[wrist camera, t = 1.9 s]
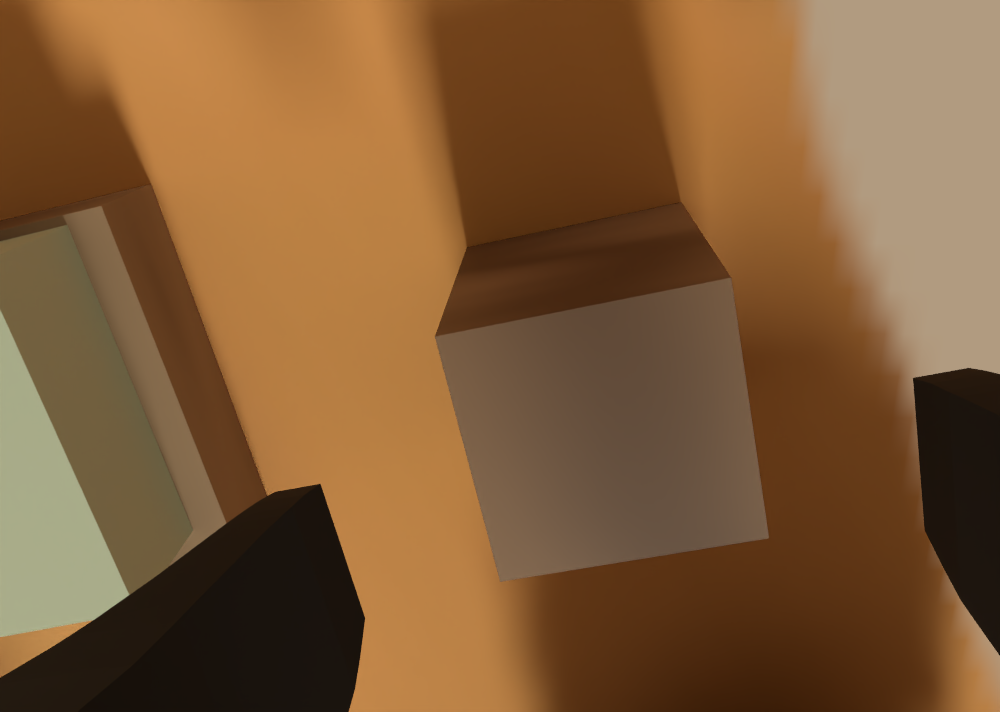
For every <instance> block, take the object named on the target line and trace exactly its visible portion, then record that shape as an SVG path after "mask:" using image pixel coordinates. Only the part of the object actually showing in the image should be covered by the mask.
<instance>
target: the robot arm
mask: <svg viewBox="0 0 1000 712" xmlns="http://www.w3.org/2000/svg"><path fill="white" fill-rule="evenodd" d="M913 383H914V396H915V409H916V422H917V435H918V448H919V461H920V474H921V488H922V501H923V514H924V527H925V532H926V534H927V536H928V538H929V540H930V542H931V544H932V546H933V548H934V550H935V552H936V554H937V556H938V558H939V560H940V562H941V564H942V566H943V568H944V570H945V571H946V573H947V575H948V577H949V579H950V581H951V583H952V585H953V586H954V588H955V590H956V592H957V594H958V596H959V598H960V599H961V601H962V602H963V604H964V605H965V607H966V608H967V610H968V611H969V613H970V614H971V615H972V617H973V618H974V620H975V621H976V623H977V624H978V625H979V627H980V628H981V630H982V631H983V633H984V634H985V635H986V637H987V638H988V640H989V641H990V642H991V644H992V645H993V647H994V648H995V649H996V651H997V652H998V654H999V655H1000V374H996V373H992V372H988V371H983V370H978V369H971V368H967V369H961V370H955V371H950V372H944V373H938V374H933V375H927V376H922V377H916V378H913ZM364 622H365V617H364V614H363V611H362V608H361V605H360V602H359V599H358V596H357V593H356V590H355V587H354V584H353V581H352V578H351V575H350V572H349V569H348V566H347V563H346V559H345V556H344V553H343V550H342V547H341V544H340V541H339V538H338V535H337V532H336V529H335V526H334V523H333V520H332V517H331V514H330V511H329V508H328V505H327V502H326V499H325V496H324V493H323V490H322V487H321V484H317V485H312V486H306V487H301V488H295V489H289V490H284V491H278V492H274V493H272V494H270V495H269V496H267V497H265V498H263V499H261V500H260V501H258V502H256V503H255V504H253V505H252V506H250V507H249V508H247V509H246V510H244V511H243V512H242V513H240V514H239V515H237V516H236V517H235V518H233V519H232V520H230V521H229V522H228V523H226V524H225V525H224V526H222V527H221V528H220V529H218V530H217V531H216V532H214V533H213V534H212V535H210V536H209V537H208V538H206V539H205V540H204V541H202V542H201V543H200V544H198V545H197V546H196V547H194V548H193V549H192V550H190V551H189V552H188V553H186V554H185V555H184V556H182V557H181V558H180V559H178V560H177V561H176V562H174V563H173V564H172V565H170V566H169V567H168V568H166V569H165V570H164V571H162V572H161V573H160V574H158V575H157V576H156V577H154V578H153V579H151V580H150V581H148V582H147V583H146V584H144V585H143V586H141V587H140V588H138V589H137V590H136V591H134V592H133V593H131V594H130V595H129V596H127V597H126V598H124V599H123V600H121V601H120V602H119V603H117V604H116V605H114V606H113V607H111V608H110V609H109V610H107V611H106V612H104V613H103V614H102V615H100V616H99V617H97V618H96V619H94V620H93V621H92V622H90V623H89V624H87V625H86V626H84V627H83V628H81V629H80V630H78V631H76V632H75V633H73V634H72V635H70V636H69V637H67V638H66V639H64V640H62V641H61V642H59V643H58V644H56V645H55V646H53V647H51V648H50V649H48V650H47V651H45V652H43V653H41V654H40V655H38V656H36V657H35V658H33V659H31V660H30V661H28V662H26V663H25V664H23V665H21V666H19V667H18V668H16V669H14V670H13V671H11V672H9V673H8V674H6V675H4V676H3V677H1V678H0V712H349V708H350V705H351V701H352V697H353V694H354V690H355V685H356V679H357V673H358V666H359V660H360V653H361V645H362V638H363V630H364Z"/></svg>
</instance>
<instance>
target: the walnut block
mask: <svg viewBox="0 0 1000 712" xmlns="http://www.w3.org/2000/svg"><path fill="white" fill-rule="evenodd" d="M435 339H436V342H437V346H438V350H439V354H440V357H441V361H442V365H443V369H444V372H445V376H446V380H447V384H448V387H449V391H450V395H451V399H452V402H453V406H454V410H455V414H456V417H457V421H458V425H459V429H460V432H461V436H462V440H463V444H464V447H465V451H466V455H467V459H468V462H469V466H470V470H471V474H472V477H473V481H474V485H475V489H476V492H477V496H478V500H479V504H480V507H481V511H482V515H483V519H484V522H485V526H486V530H487V534H488V537H489V541H490V545H491V549H492V552H493V556H494V560H495V564H496V567H497V571H498V575H499V579H500V582H502V581H508V580H514V579H521V578H527V577H533V576H539V575H545V574H551V573H558V572H564V571H570V570H576V569H582V568H589V567H595V566H601V565H607V564H613V563H619V562H626V561H632V560H638V559H644V558H650V557H657V556H663V555H669V554H675V553H681V552H687V551H694V550H700V549H706V548H712V547H718V546H725V545H731V544H737V543H743V542H749V541H755V540H762V539H768V538H769V534H768V527H767V521H766V514H765V507H764V500H763V493H762V486H761V479H760V472H759V466H758V459H757V452H756V445H755V438H754V431H753V424H752V417H751V410H750V404H749V397H748V390H747V383H746V376H745V369H744V362H743V355H742V349H741V342H740V335H739V328H738V321H737V314H736V307H735V300H734V293H733V287H732V280H731V277H730V275H729V274H728V272H727V271H726V269H725V268H724V266H723V265H722V263H721V262H720V260H719V259H718V257H717V256H716V254H715V252H714V251H713V249H712V248H711V246H710V245H709V243H708V242H707V240H706V239H705V237H704V236H703V234H702V233H701V231H700V230H699V228H698V227H697V225H696V224H695V222H694V221H693V219H692V218H691V216H690V215H689V213H688V212H687V210H686V209H685V207H684V206H683V204H682V203H681V202H680V203H675V204H671V205H666V206H661V207H656V208H652V209H647V210H642V211H638V212H633V213H628V214H623V215H619V216H614V217H609V218H604V219H600V220H595V221H590V222H585V223H581V224H576V225H571V226H566V227H562V228H557V229H552V230H547V231H543V232H538V233H533V234H529V235H524V236H519V237H514V238H510V239H505V240H500V241H495V242H491V243H486V244H481V245H476V246H472V247H467V249H466V252H465V254H464V257H463V260H462V263H461V266H460V268H459V271H458V274H457V277H456V279H455V282H454V285H453V288H452V291H451V293H450V296H449V299H448V302H447V305H446V307H445V310H444V313H443V316H442V318H441V321H440V324H439V327H438V330H437V332H436V335H435Z"/></svg>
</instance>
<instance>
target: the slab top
mask: <svg viewBox="0 0 1000 712" xmlns="http://www.w3.org/2000/svg"><path fill="white" fill-rule="evenodd" d="M192 531H193V529H192V527H191V524H190V522H189V519H188V517H187V514H186V512H185V510H184V507H183V505H182V502H181V500H180V497H179V495H178V493H177V490H176V488H175V485H174V483H173V480H172V478H171V476H170V473H169V471H168V468H167V466H166V463H165V461H164V459H163V456H162V454H161V451H160V449H159V446H158V444H157V442H156V439H155V437H154V434H153V432H152V429H151V427H150V425H149V422H148V420H147V417H146V415H145V412H144V410H143V408H142V405H141V403H140V400H139V398H138V395H137V393H136V391H135V388H134V386H133V383H132V381H131V378H130V376H129V374H128V371H127V369H126V366H125V364H124V361H123V359H122V357H121V354H120V352H119V349H118V347H117V344H116V342H115V340H114V337H113V335H112V332H111V330H110V327H109V325H108V323H107V320H106V318H105V315H104V313H103V310H102V308H101V306H100V303H99V301H98V298H97V296H96V293H95V291H94V289H93V286H92V284H91V281H90V279H89V276H88V274H87V272H86V269H85V267H84V264H83V262H82V260H81V257H80V255H79V252H78V250H77V247H76V245H75V243H74V240H73V238H72V235H71V233H70V231H69V228H68V226H67V225H64V226H60V227H56V228H52V229H48V230H44V231H40V232H36V233H32V234H28V235H24V236H20V237H16V238H12V239H8V240H3V241H0V637H4V636H9V635H14V634H20V633H25V632H31V631H36V630H42V629H47V628H53V627H58V626H64V625H69V624H75V623H80V622H86V621H91V620H94V619H96V618H97V617H99V616H100V615H102V614H103V613H104V612H106V611H107V610H109V609H110V608H111V607H113V606H114V605H116V604H117V603H119V602H120V601H121V600H123V599H124V598H126V597H127V596H129V595H130V594H131V593H133V592H134V591H136V590H137V589H138V588H140V587H141V586H143V585H144V584H146V583H147V582H148V581H150V580H151V579H153V578H154V577H156V576H157V575H158V574H160V573H161V572H162V571H164V570H165V569H166V568H168V566H169V565H170V563H171V562H172V560H173V559H174V557H175V556H176V555H177V553H178V552H179V550H180V549H181V547H182V546H183V544H184V543H185V541H186V540H187V539H188V537H189V536H190V534H191V533H192Z"/></svg>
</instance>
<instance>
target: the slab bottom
mask: <svg viewBox="0 0 1000 712" xmlns="http://www.w3.org/2000/svg"><path fill="white" fill-rule="evenodd" d="M64 225H67V226H68V228H69V231H70V233H71V235H72V238H73V240H74V243H75V245H76V247H77V250H78V252H79V255H80V257H81V260H82V262H83V264H84V267H85V269H86V272H87V274H88V276H89V279H90V281H91V284H92V286H93V289H94V291H95V293H96V296H97V298H98V301H99V303H100V306H101V308H102V310H103V313H104V315H105V318H106V320H107V323H108V325H109V327H110V330H111V332H112V335H113V337H114V340H115V342H116V344H117V347H118V349H119V352H120V354H121V357H122V359H123V361H124V364H125V366H126V369H127V371H128V374H129V376H130V378H131V381H132V383H133V386H134V388H135V391H136V393H137V395H138V398H139V400H140V403H141V405H142V408H143V410H144V412H145V415H146V417H147V420H148V422H149V425H150V427H151V429H152V432H153V434H154V437H155V439H156V442H157V444H158V446H159V449H160V451H161V454H162V456H163V459H164V461H165V463H166V466H167V468H168V471H169V473H170V476H171V478H172V480H173V483H174V485H175V488H176V490H177V493H178V495H179V497H180V500H181V502H182V505H183V507H184V510H185V512H186V514H187V517H188V519H189V522H190V524H191V527H192V529H193V531H192V533H191V534H190V536H189V537H188V539H187V540H186V541H185V543H184V544H183V546H182V547H181V549H180V550H179V552H178V553H177V555H176V556H175V557H174V559H173V560H172V562H171V563H170V565H172V564H173V563H174V562H176V561H177V560H178V559H180V558H181V557H182V556H184V555H185V554H186V553H188V552H189V551H190V550H192V549H193V548H194V547H196V546H197V545H198V544H200V543H201V542H202V541H204V540H205V539H206V538H208V537H209V536H210V535H212V534H213V533H214V532H216V531H217V530H218V529H220V528H221V527H222V526H224V525H225V524H226V523H228V522H229V521H230V520H232V519H233V518H235V517H236V516H237V515H239V514H240V513H242V512H243V511H244V510H246V509H247V508H249V507H250V506H252V505H253V504H255V503H256V502H258V501H260V500H261V499H263V498H265V497H267V495H266V492H265V490H264V487H263V484H262V481H261V479H260V476H259V473H258V471H257V468H256V465H255V463H254V460H253V457H252V455H251V452H250V449H249V446H248V444H247V441H246V438H245V436H244V433H243V430H242V428H241V425H240V422H239V419H238V417H237V414H236V411H235V409H234V406H233V403H232V401H231V398H230V395H229V393H228V390H227V387H226V384H225V382H224V379H223V376H222V374H221V371H220V368H219V366H218V363H217V360H216V357H215V355H214V352H213V349H212V347H211V344H210V341H209V339H208V336H207V333H206V331H205V328H204V325H203V322H202V320H201V317H200V314H199V312H198V309H197V306H196V304H195V301H194V298H193V296H192V293H191V290H190V287H189V285H188V282H187V279H186V277H185V274H184V271H183V269H182V266H181V263H180V260H179V258H178V255H177V252H176V250H175V247H174V244H173V242H172V239H171V236H170V234H169V231H168V228H167V225H166V223H165V220H164V217H163V215H162V212H161V209H160V207H159V204H158V201H157V198H156V196H155V193H154V190H153V188H152V185H151V184H149V185H145V186H141V187H136V188H132V189H128V190H124V191H120V192H116V193H112V194H108V195H104V196H100V197H96V198H92V199H88V200H84V201H79V202H75V203H71V204H67V205H63V206H59V207H55V208H51V209H47V210H43V211H39V212H35V213H31V214H27V215H22V216H18V217H14V218H10V219H6V220H2V221H0V241H3V240H8V239H12V238H16V237H20V236H24V235H28V234H32V233H36V232H40V231H44V230H48V229H52V228H56V227H60V226H64ZM170 565H169V566H170ZM169 566H168V567H169Z"/></svg>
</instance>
